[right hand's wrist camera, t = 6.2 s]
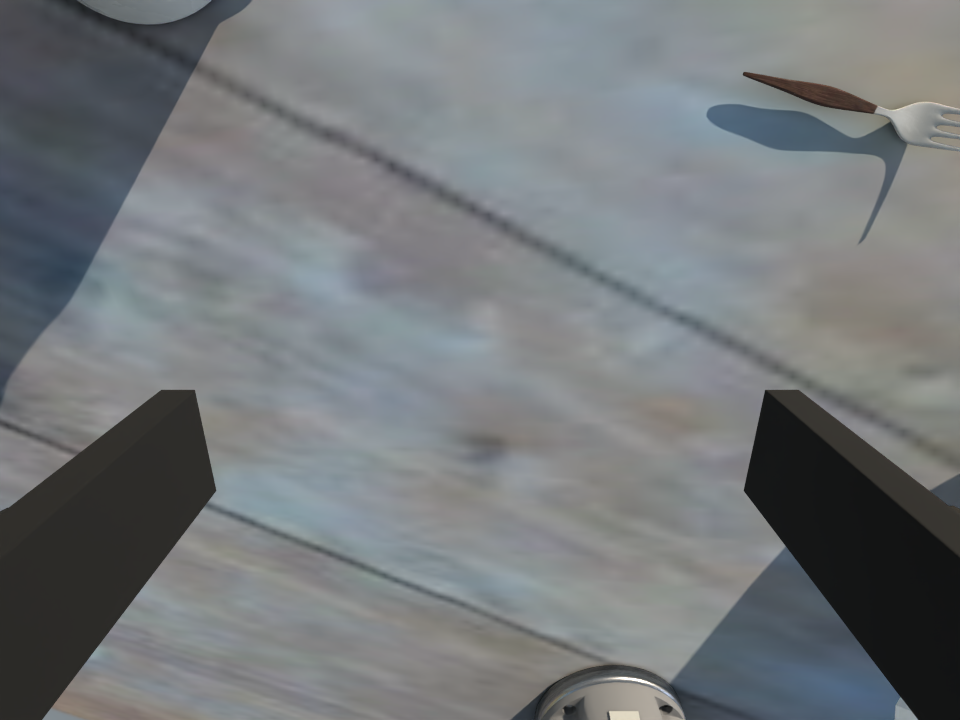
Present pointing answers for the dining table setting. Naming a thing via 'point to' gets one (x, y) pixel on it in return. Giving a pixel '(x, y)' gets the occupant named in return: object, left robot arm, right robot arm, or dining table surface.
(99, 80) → the dining table surface
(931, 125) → the fork
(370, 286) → the dining table surface
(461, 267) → the dining table surface
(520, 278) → the dining table surface
